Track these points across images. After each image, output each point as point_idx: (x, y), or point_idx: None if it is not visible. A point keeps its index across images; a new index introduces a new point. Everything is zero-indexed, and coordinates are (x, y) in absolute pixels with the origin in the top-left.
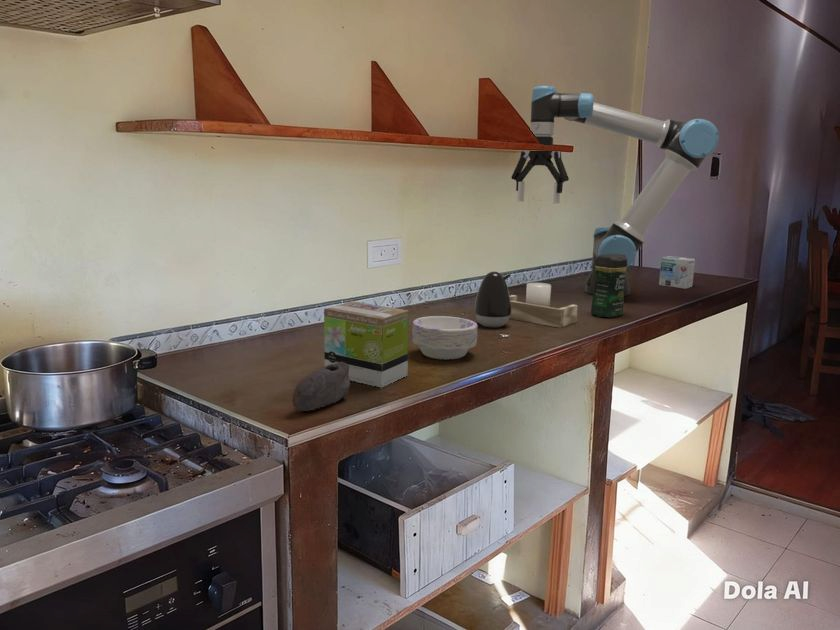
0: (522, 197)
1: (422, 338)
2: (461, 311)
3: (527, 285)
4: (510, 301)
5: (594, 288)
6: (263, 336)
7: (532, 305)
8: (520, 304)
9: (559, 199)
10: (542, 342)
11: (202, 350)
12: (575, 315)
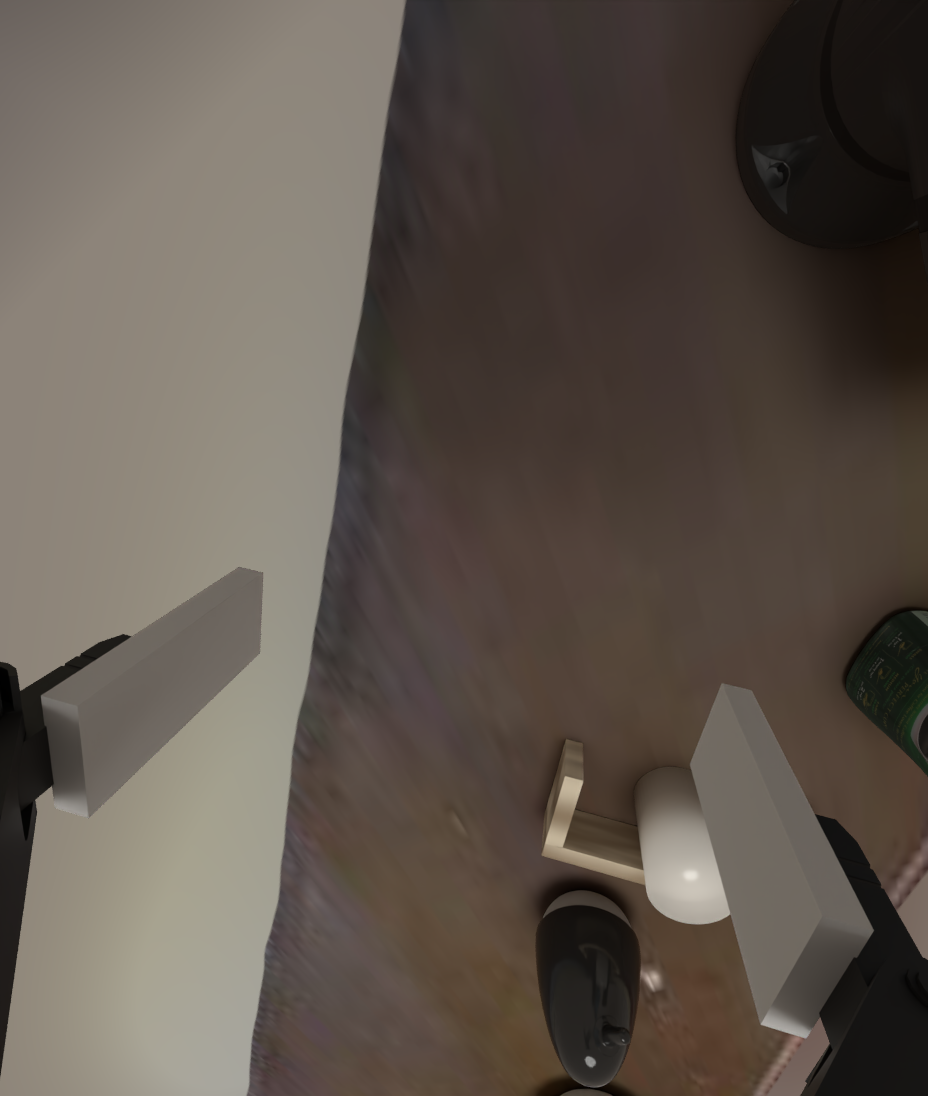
0: (238, 620)
1: None
2: (439, 800)
3: (654, 904)
4: (638, 978)
5: (900, 746)
6: (263, 1082)
7: None
8: (637, 879)
9: (765, 721)
10: None
11: None
12: None
